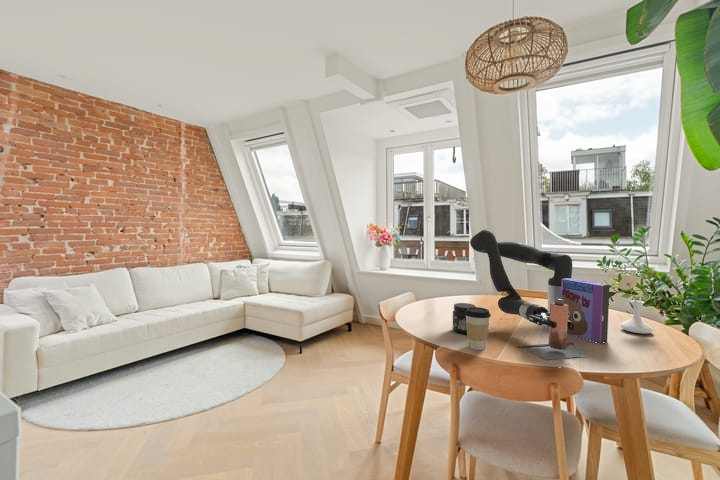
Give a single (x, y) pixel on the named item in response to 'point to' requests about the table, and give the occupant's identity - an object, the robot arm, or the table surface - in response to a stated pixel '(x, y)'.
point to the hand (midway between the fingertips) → (563, 325)
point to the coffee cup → (477, 327)
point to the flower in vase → (635, 322)
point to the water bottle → (558, 325)
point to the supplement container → (460, 317)
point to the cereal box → (586, 308)
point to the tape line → (537, 345)
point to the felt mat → (557, 353)
